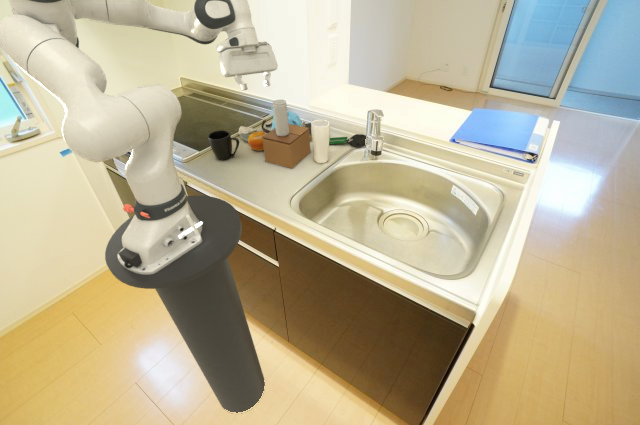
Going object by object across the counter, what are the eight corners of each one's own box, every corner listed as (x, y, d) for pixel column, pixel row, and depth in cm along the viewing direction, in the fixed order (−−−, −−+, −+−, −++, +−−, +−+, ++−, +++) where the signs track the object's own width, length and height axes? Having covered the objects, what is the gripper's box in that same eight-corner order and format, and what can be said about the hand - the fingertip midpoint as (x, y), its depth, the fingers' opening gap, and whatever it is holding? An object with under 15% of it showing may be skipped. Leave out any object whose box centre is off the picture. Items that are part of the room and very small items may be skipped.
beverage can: (291, 134, 115) (288, 102, 107) (280, 138, 113) (276, 105, 105) (285, 130, 118) (282, 98, 111) (274, 133, 116) (269, 101, 109)
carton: (292, 168, 116) (289, 143, 110) (265, 161, 121) (261, 136, 114) (310, 152, 126) (309, 127, 120) (285, 146, 130) (282, 122, 124)
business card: (346, 143, 128) (347, 137, 132) (345, 142, 128) (347, 136, 132) (325, 144, 131) (327, 138, 134) (325, 144, 131) (327, 138, 134)
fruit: (251, 134, 132) (252, 123, 124) (271, 141, 133) (273, 130, 126) (245, 150, 128) (245, 140, 121) (265, 157, 130) (267, 148, 122)
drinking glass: (309, 163, 119) (307, 125, 110) (316, 155, 124) (315, 118, 115) (326, 166, 117) (326, 128, 108) (332, 157, 122) (332, 120, 113)
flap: (289, 144, 110) (289, 143, 110) (262, 137, 115) (262, 136, 114) (299, 136, 115) (299, 135, 115) (272, 130, 120) (272, 129, 119)
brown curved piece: (260, 137, 144) (281, 139, 142) (257, 128, 139) (278, 130, 137) (269, 117, 151) (289, 120, 149) (267, 108, 146) (287, 110, 144)
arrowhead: (259, 133, 140) (250, 127, 147) (258, 129, 139) (249, 122, 145) (242, 138, 137) (234, 131, 143) (241, 133, 135) (232, 127, 142)
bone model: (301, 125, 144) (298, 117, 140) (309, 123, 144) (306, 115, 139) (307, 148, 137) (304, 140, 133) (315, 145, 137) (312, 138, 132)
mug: (236, 165, 119) (230, 142, 113) (209, 160, 123) (203, 137, 117) (247, 155, 125) (242, 132, 119) (221, 150, 128) (216, 128, 123)
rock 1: (237, 135, 135) (246, 130, 137) (238, 139, 136) (247, 134, 139) (251, 142, 130) (260, 137, 133) (252, 146, 132) (260, 141, 135)
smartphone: (329, 136, 136) (318, 123, 148) (329, 134, 136) (318, 121, 147) (313, 138, 135) (303, 125, 146) (312, 137, 134) (303, 123, 146)
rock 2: (358, 140, 135) (360, 151, 134) (345, 140, 131) (347, 151, 130) (371, 131, 127) (374, 143, 126) (358, 130, 123) (360, 142, 123)
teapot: (281, 101, 140) (309, 111, 130) (283, 124, 147) (310, 135, 137) (258, 109, 133) (287, 121, 123) (262, 133, 140) (289, 145, 130)
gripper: (264, 44, 109) (274, 85, 114) (211, 47, 96) (225, 94, 101) (275, 38, 105) (285, 82, 109) (221, 41, 92) (235, 90, 96)
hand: (256, 88), depth 105 cm, fingers open, 8 cm apart
